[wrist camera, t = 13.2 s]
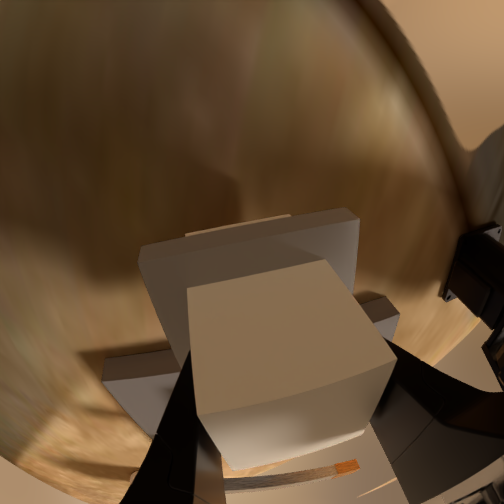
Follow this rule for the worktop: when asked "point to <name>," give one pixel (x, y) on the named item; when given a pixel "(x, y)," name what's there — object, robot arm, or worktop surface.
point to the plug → (271, 332)
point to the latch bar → (289, 478)
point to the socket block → (168, 369)
